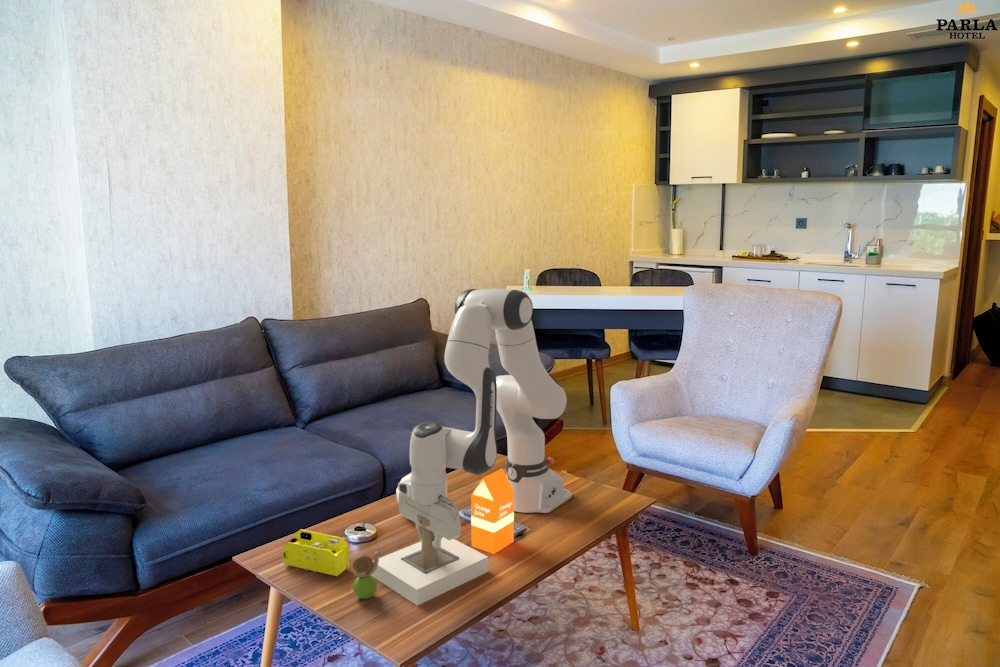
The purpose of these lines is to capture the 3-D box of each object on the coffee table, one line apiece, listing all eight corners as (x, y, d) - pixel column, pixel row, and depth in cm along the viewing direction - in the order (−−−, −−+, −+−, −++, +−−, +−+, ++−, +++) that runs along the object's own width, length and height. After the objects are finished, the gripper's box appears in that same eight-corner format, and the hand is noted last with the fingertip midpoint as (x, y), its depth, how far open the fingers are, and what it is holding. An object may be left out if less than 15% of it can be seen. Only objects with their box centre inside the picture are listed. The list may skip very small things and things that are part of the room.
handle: (429, 581, 174) (428, 522, 172) (414, 571, 179) (412, 514, 176) (445, 574, 178) (444, 517, 175) (430, 564, 182) (429, 508, 180)
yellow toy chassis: (350, 569, 181) (348, 538, 180) (336, 580, 176) (335, 548, 175) (297, 557, 187) (295, 527, 186) (283, 567, 182) (281, 536, 181)
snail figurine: (383, 600, 167) (381, 552, 165) (354, 605, 165) (352, 556, 163) (380, 588, 172) (378, 541, 170) (352, 592, 170) (350, 545, 168)
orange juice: (471, 545, 193) (470, 474, 189) (491, 533, 200) (491, 464, 196) (494, 554, 188) (494, 481, 185) (514, 541, 195) (514, 471, 192)
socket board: (442, 546, 192) (441, 531, 192) (488, 571, 180) (488, 555, 179) (372, 576, 177) (371, 560, 177) (417, 605, 165) (416, 588, 164)
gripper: (467, 499, 169) (467, 554, 172) (413, 475, 184) (415, 526, 186) (446, 507, 165) (447, 563, 168) (393, 481, 180) (395, 534, 182)
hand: (429, 543), depth 177 cm, fingers closed on handle, 4 cm apart
